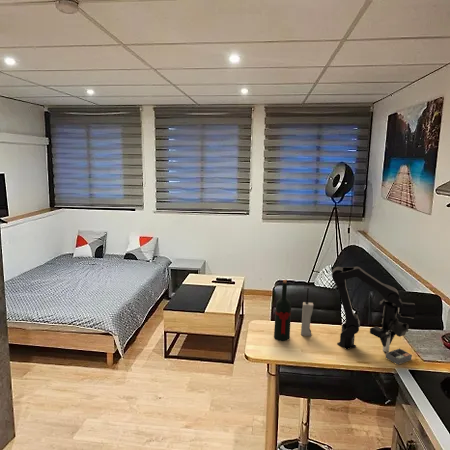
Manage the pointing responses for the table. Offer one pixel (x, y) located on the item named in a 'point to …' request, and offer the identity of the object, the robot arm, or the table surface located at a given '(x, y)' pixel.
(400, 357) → the grey compartment tray
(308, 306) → the vintage mobile phone
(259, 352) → the table surface
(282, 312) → the wine bottle
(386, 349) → the plug
